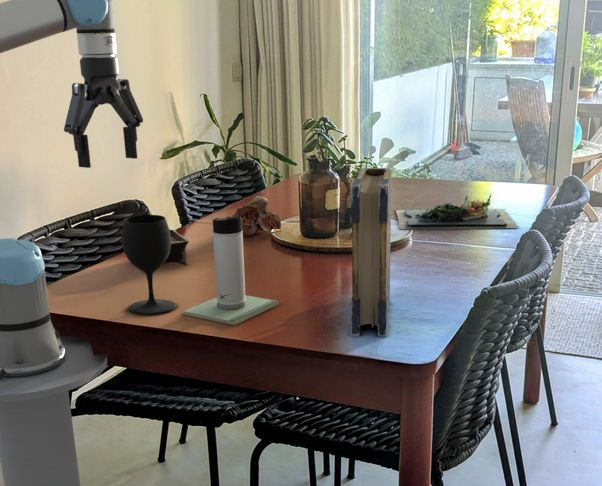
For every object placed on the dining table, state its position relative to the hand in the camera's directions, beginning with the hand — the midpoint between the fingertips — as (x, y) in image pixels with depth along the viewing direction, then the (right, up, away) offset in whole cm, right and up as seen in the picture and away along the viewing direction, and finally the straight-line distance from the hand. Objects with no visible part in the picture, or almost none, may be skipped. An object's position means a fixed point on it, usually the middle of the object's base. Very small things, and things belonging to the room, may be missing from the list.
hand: (108, 162), depth 182 cm
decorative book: (+56, -33, 0) cm, 65 cm away
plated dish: (+88, +1, +87) cm, 124 cm away
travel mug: (+25, -30, +7) cm, 40 cm away
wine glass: (+8, -30, +9) cm, 33 cm away
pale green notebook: (+25, -31, +7) cm, 40 cm away
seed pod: (+28, -6, +73) cm, 78 cm away
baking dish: (+3, -17, +46) cm, 49 cm away
